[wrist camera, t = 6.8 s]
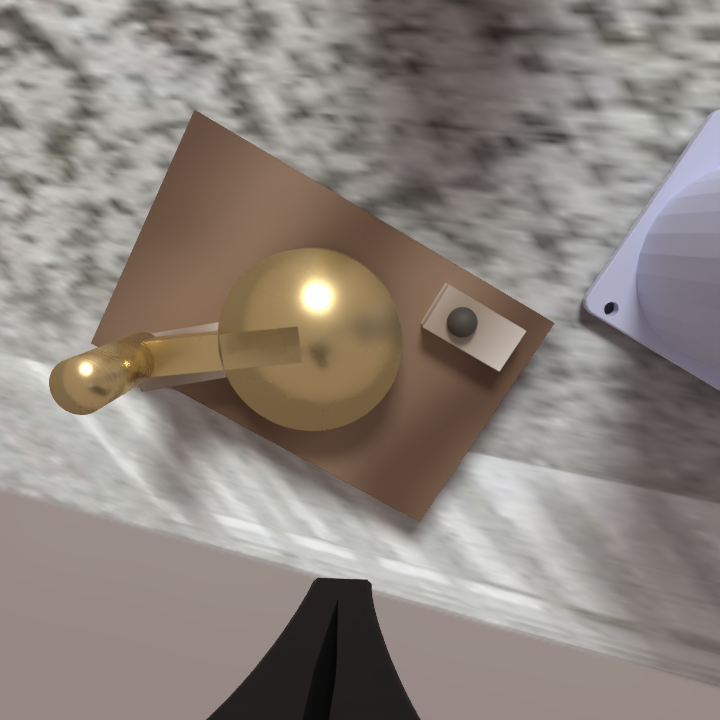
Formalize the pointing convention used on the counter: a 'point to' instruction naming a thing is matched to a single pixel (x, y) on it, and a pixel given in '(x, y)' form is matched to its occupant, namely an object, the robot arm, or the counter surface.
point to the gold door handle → (267, 345)
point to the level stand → (363, 242)
